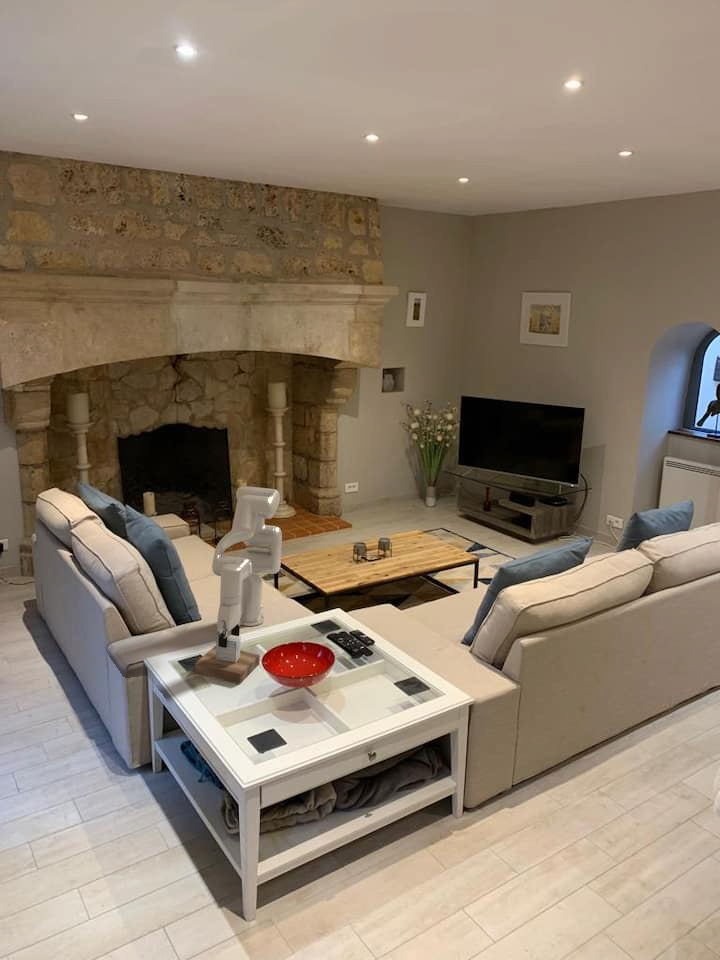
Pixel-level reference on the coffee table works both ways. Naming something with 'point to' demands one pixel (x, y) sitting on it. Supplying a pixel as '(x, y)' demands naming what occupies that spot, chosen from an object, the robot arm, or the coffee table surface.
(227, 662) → the wooden block
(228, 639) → the medicine box
